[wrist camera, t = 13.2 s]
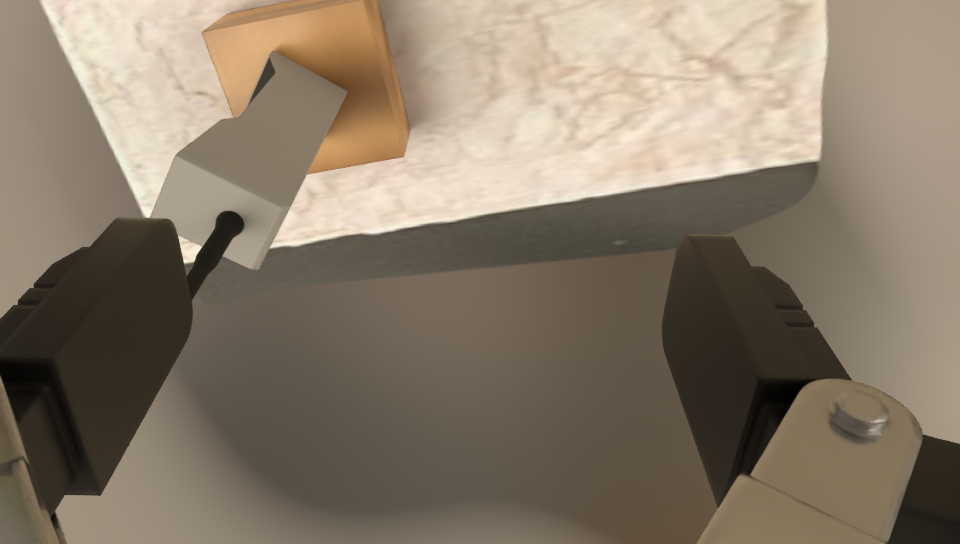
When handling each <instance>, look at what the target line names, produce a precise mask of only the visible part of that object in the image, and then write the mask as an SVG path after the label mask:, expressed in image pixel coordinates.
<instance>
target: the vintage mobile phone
mask: <svg viewBox="0 0 960 544" xmlns="http://www.w3.org/2000/svg"><path fill="white" fill-rule="evenodd" d="M346 95H347V91H346V90H344V89H343V88H341V87H339V86H337V85H335V84H334V83H332V82H330V81H328V80H326V79H324V78H323V77H321V76H319V75H317V74H315V73H314V72H312V71H310V70H308V69H306V68H305V67H303V66H301V65H299V64H297V63H296V62H294V61H292V60H290V59H288V58H287V57H285V56H283V55H281V54H279V53H277V52H276V51H272V52H271V53H270V54H269V56H268V58H267V60H266V62H265V65H264V67H263V69H262V71H261V74H260V76H259V78H258V81H257V83H256V85H255V87H254V90H253V92H252V94H251V96H250V99H249V101H248V103H247V105H246V107H247V108H246V109H245V110H244V111H243V113H242V114H241V115H240V116H239V117H236V118H230V119H223V120H220V121H219V122H218V123H216V124H215V125H214V126H212V127H211V128H210V129H208V130H207V131H206V132H205V133H203V134H202V135H201V136H199V137H198V138H197V139H195V140H194V141H193V142H191V143H190V144H189V145H187V146H186V147H185V148H184V149H182V150H181V151H180V152H178V153H177V154H176V155H175V157H174V159H173V162H172V164H171V167H170V169H169V172H168V174H167V177H166V179H165V182H164V184H163V187H162V189H161V192H160V194H159V197H158V199H157V201H156V204H155V206H154V209H153V211H152V214H151V216H150V218H167V219H170V220H171V221H172V222H173V224H174V226H175V228H176V230H177V234H178V236H181V237H183V238H185V239H187V240H189V241H191V242H194V243H196V244H198V245H200V246H202V248H201V250H200V251H199V253H198V254H197V256H196V259H195V262H194V265H193V268H192V269H191V271H190V272H189V274H188V275H187V281H188V286H189V290H190V295H191V300H192V299H193V298H194V296H195V294H196V293H197V291H198V289H199V288H200V286H201V285H202V283H203V281H204V280H205V278H206V276H207V275H208V274H209V273H210V272H211V271H212V270H213V269H214V268H215V267H216V266H217V264H218V263H219V261H220V259H221V258H222V256H224V257H226V258H228V259H230V260H232V261H234V262H237V263H239V264H241V265H243V266H245V267H247V268H250V269H259V268H260V266H261V264H262V262H263V260H264V258H265V256H266V254H267V252H268V250H269V248H270V246H271V244H272V242H273V240H274V238H275V236H276V234H277V232H278V230H279V228H280V226H281V225H282V223H283V221H284V219H285V217H286V215H287V213H288V211H289V209H290V207H291V205H292V203H293V201H294V199H295V197H296V195H297V193H298V191H299V189H300V187H301V185H302V183H303V181H304V179H305V177H306V175H307V173H308V171H309V169H310V167H311V165H312V163H313V161H314V159H315V157H316V155H317V153H318V151H319V149H320V147H321V145H322V143H323V141H324V139H325V137H326V135H327V133H328V131H329V129H330V127H331V125H332V123H333V121H334V119H335V117H336V115H337V113H338V111H339V109H340V107H341V105H342V103H343V101H344V99H345V97H346Z"/></svg>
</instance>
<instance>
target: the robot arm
mask: <svg viewBox="0 0 960 544" xmlns="http://www.w3.org/2000/svg"><path fill="white" fill-rule="evenodd" d="M192 310H193V309H192V300H191V295H190V290H189V286H188V281H187V276H186V272H185V267H184V262H183V257H182V253H181V248H180V243H179V238H178V234H177V230H176V228H175V226H174V224H173V222H172V221H171V220H170V219H167V218H134V217H132V218H131V217H118V218H116V219H115V220H114V221H113V222H112V223H111V224H110V225H109V226H108V227H107V229H106V230H105V231H104V232H103V233H102V234H101V235H100V236H99V237H98V239H97V240H96V241H95V242H94V243H93V244H92V245H91V246H90V247H82V248H80V249H79V250H77V251H75V252H73V253H71V254H70V255H68V256H66V257H65V258H62V259H61V260H59V261H57V262H55V263H54V264H52V265H51V266H50V268H48V270H47V271H46V272H45V273H44V274H43V275H42V276H41V277H40V278H39V279H38V280H37V281H36V282H35V283H34V288H30V289H29V290H28V291H27V292H26V293H25V294H24V295H23V296H22V297H21V298H20V299H19V300H18V305H14V306H13V307H11V309H10V310H9V311H8V312H7V313H6V314H5V315H4V316H3V317H2V318H1V319H0V544H67V542H66V540H65V537H64V533H63V530H62V528H61V525H60V522H59V520H58V517H57V515H56V512H55V510H56V508H57V507H58V505H59V504H60V502H61V500H62V499H63V497H64V495H97V496H100V495H101V494H102V492H103V490H104V488H105V487H106V485H107V483H108V481H109V479H110V478H111V476H112V474H113V472H114V471H115V469H116V467H117V465H118V464H119V462H120V460H121V458H122V456H123V455H124V453H125V451H126V449H127V447H128V446H129V444H130V442H131V440H132V438H133V437H134V435H135V433H136V431H137V429H138V428H139V426H140V424H141V422H142V420H143V419H144V417H145V415H146V413H147V411H148V409H149V408H150V406H151V404H152V402H153V401H154V399H155V397H156V395H157V393H158V392H159V390H160V388H161V386H162V384H163V383H164V381H165V379H166V377H167V376H168V374H169V372H170V370H171V368H172V366H173V365H174V363H175V361H176V359H177V357H178V356H179V354H180V352H181V350H182V349H183V347H184V345H185V343H186V341H187V339H188V337H189V334H190V330H191V325H192V315H193V314H192V313H193V311H192ZM662 340H663V347H664V352H665V356H666V358H667V361H668V364H669V367H670V370H671V373H672V376H673V379H674V382H675V385H676V388H677V390H678V393H679V396H680V399H681V402H682V405H683V408H684V411H685V414H686V417H687V420H688V422H689V425H690V428H691V431H692V434H693V437H694V440H695V443H696V445H697V449H698V451H699V454H700V457H701V460H702V463H703V466H704V469H705V472H706V474H707V478H708V480H709V483H710V486H711V489H712V492H713V495H714V498H715V501H716V504H717V507H718V510H717V511H716V513H715V515H714V516H713V518H712V520H711V521H710V523H709V524H708V526H707V528H706V529H705V531H704V533H703V534H702V536H701V538H700V539H699V541H698V542H697V544H960V444H958V443H953V442H950V441H946V440H941V439H937V438H934V437H930V436H927V435H923V434H922V429H921V427H920V425H919V423H918V421H917V420H916V418H915V417H914V415H913V414H912V413H911V412H910V411H909V410H908V409H907V408H906V407H905V406H904V405H902V404H901V403H900V402H899V401H897V400H896V399H894V398H893V397H891V396H890V395H888V394H886V393H884V392H882V391H880V390H878V389H876V388H873V387H871V386H868V385H865V384H862V383H858V382H855V381H852V380H851V378H850V377H849V375H848V374H847V372H846V371H845V369H844V368H843V366H842V365H841V363H840V362H839V360H838V359H837V357H836V356H835V354H834V353H833V351H832V349H831V348H830V346H829V345H828V343H827V342H826V340H825V339H824V337H823V336H822V334H821V333H820V331H819V330H818V328H815V327H814V322H813V321H812V319H811V318H810V316H809V315H808V313H807V311H806V310H803V305H802V304H801V302H800V301H799V299H798V298H797V296H796V295H795V293H794V292H793V290H792V289H791V287H790V286H789V285H788V284H787V283H785V282H784V281H783V280H781V279H780V278H778V277H777V276H776V275H775V274H773V273H772V272H770V271H769V270H768V269H766V268H765V267H752V266H751V265H750V264H749V262H748V260H747V259H746V257H745V256H744V254H743V252H742V250H741V249H740V247H739V245H738V244H737V242H736V240H735V239H734V238H733V237H732V236H730V235H699V234H684V235H682V236H681V238H680V240H679V242H678V245H677V249H676V254H675V259H674V264H673V270H672V275H671V279H670V284H669V289H668V294H667V299H666V304H665V309H664V314H663V322H662Z"/></svg>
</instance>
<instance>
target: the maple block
mask: <svg viewBox="0 0 960 544" xmlns="http://www.w3.org/2000/svg"><path fill="white" fill-rule="evenodd" d="M202 35H203V37H204V40H205V43H206V45H207V48H208V51H209V53H210V56H211V59H212V61H213V64H214V67H215V69H216V72H217V74H218V77H219V80H220V82H221V85H222V88H223V90H224V93H225V96H226V98H227V101H228V104H229V106H230V109H231V111H232V114H233V117H234V118H236V117H239V116H240V115H241V114H242V113H243V111H244V110H245V109H246V108H247V107H246V105H247V103H248V101H249V99H250V96H251V94H252V92H253V90H254V87H255V85H256V83H257V81H258V78H259V76H260V74H261V71H262V69H263V67H264V65H265V62H266V60H267V58H268V56H269V54H270V53H271V52H272V51H276V52H277V53H279V54H281V55H283V56H285V57H287V58H288V59H290V60H292V61H294V62H296V63H297V64H299V65H301V66H303V67H305V68H306V69H308V70H310V71H312V72H314V73H315V74H317V75H319V76H321V77H323V78H324V79H326V80H328V81H330V82H332V83H334V84H335V85H337V86H339V87H341V88H343V89H344V90H346V91H347V95H346V97H345V99H344V101H343V103H342V105H341V107H340V109H339V111H338V113H337V115H336V117H335V119H334V121H333V123H332V125H331V127H330V129H329V131H328V133H327V135H326V137H325V139H324V141H323V143H322V145H321V147H320V149H319V151H318V153H317V155H316V157H315V159H314V161H313V163H312V165H311V167H310V169H309V171H308V173H307V174H312V173H317V172H323V171H328V170H334V169H339V168H345V167H350V166H356V165H361V164H367V163H372V162H378V161H384V160H389V159H395V158H400V157H404V155H405V151H406V147H407V142H408V138H409V134H410V126H409V122H408V118H407V114H406V110H405V106H404V102H403V98H402V94H401V90H400V86H399V82H398V78H397V74H396V70H395V66H394V62H393V58H392V54H391V50H390V46H389V42H388V38H387V34H386V30H385V26H384V22H383V18H382V14H381V10H380V6H379V3H378V0H293V1H288V2H283V3H278V4H273V5H268V6H263V7H259V8H254V9H249V10H244V11H239V12H234V13H229V14H226V15H225V16H223V17H222V18H221V19H219V20H218V21H216V22H215V23H214V24H212V25H211V26H210V27H208V28H207V29H206V30H204V31H203V32H202Z"/></svg>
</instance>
